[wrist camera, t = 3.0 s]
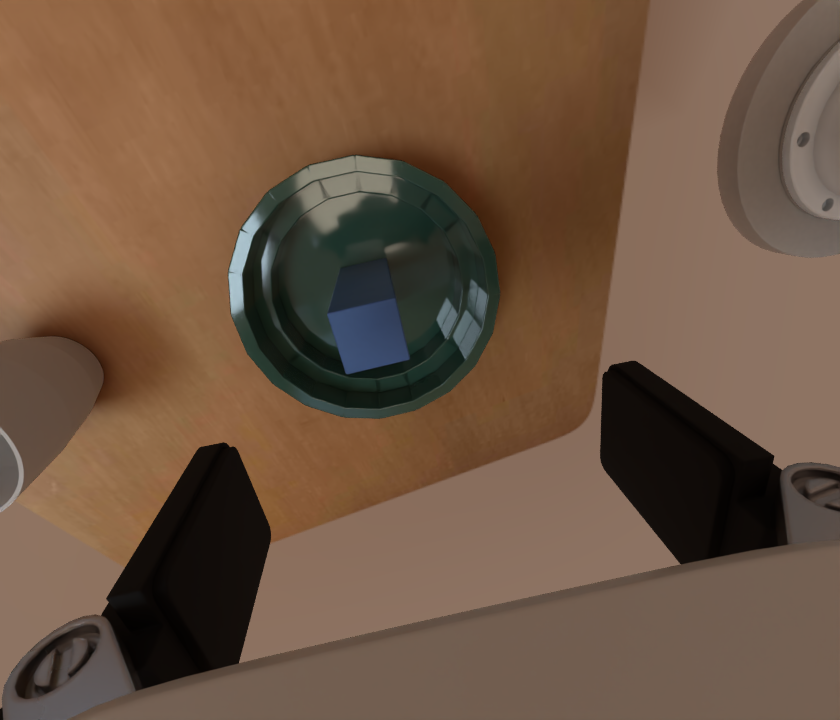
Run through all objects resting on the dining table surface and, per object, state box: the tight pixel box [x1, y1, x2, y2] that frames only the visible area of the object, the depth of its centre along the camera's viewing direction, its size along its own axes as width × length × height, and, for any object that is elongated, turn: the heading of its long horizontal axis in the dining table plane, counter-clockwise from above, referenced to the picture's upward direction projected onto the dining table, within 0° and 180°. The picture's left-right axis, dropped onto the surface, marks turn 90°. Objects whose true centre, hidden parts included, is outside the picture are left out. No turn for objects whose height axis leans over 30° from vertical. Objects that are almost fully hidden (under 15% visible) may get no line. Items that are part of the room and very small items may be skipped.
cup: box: [0, 336, 104, 512], centre depth 24 cm, size 8×8×10 cm
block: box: [327, 258, 410, 374], centre depth 24 cm, size 3×3×10 cm
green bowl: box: [228, 155, 500, 419], centre depth 27 cm, size 16×16×5 cm
